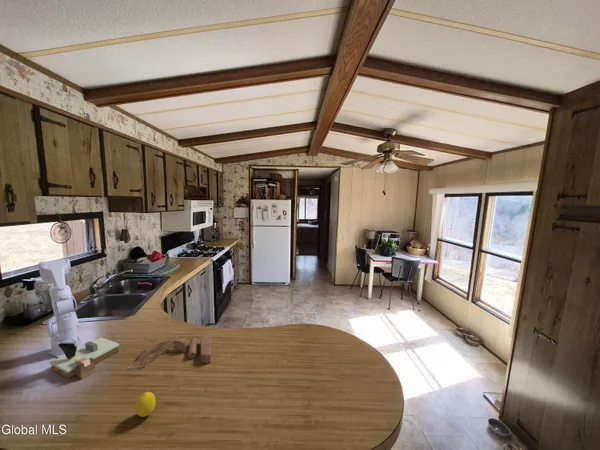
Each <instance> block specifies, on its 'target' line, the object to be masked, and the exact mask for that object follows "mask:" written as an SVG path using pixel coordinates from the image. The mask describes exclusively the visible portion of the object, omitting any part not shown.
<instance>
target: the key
mask: <svg viewBox="0 0 600 450" xmlns="http://www.w3.org/2000/svg"><path fill="white" fill-rule="evenodd" d="M74 360H75V363H76V364H80V363H82V364H83V367H86V366H88V365H90V364H91V363H90V360H89V359H86V358H84V357H82V356H79V357H77V358H75V359H74Z"/></svg>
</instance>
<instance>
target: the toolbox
mask: <svg viewBox="0 0 600 450" xmlns="http://www.w3.org/2000/svg"><path fill="white" fill-rule="evenodd" d="M117 353H119V346H117V347H115V348H114V349H112V350H110V351H108V352H106V353H104V354H102V355H101V356H99V357H97V358H95V359H93V358H89V360H90V363H91V364H90V365H88V366H86V367H83V364H82V363H80V364H78V365H79V366H77V367H75V369H74V370H73V371H71V372H69V373H67V372H65V371H63V370H61V369H59V368H57V367H55V366H53V365H51V370H52V371H53V372H55V373H57V374H58V375H60V376H62V377H64V378H66V379H67V380H70V379H72V378H74V377H76V378H78V379H81V380H84V379H85V378H88V377H89V376H90V375H92V374H94V373H96V370H95V365H97V364H99V363H101V362H103V361H105V360H107V359H108V358H110V357H111V356H113V355H115V354H117Z"/></svg>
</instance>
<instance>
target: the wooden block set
mask: <svg viewBox="0 0 600 450" xmlns="http://www.w3.org/2000/svg"><path fill="white" fill-rule="evenodd" d="M197 346H198V339H197V338H196V337H191V339H190V340H189V347H188V354H187V355H188V356H187V357H188V359H190V360H192V359H195V358H196V356H197V348H198V347H197ZM172 348H173V351H174V350H175V351H177V352H181V351H182V353H186V352H185V351H187V350H186V349H187V338H186V337H184V338H180V339H179V338H177V340H173V347H172ZM200 362H202V363H204V364H209V363H212V334H211V332H210V333H205V334H204V333H203V334H201V335H200Z"/></svg>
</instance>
